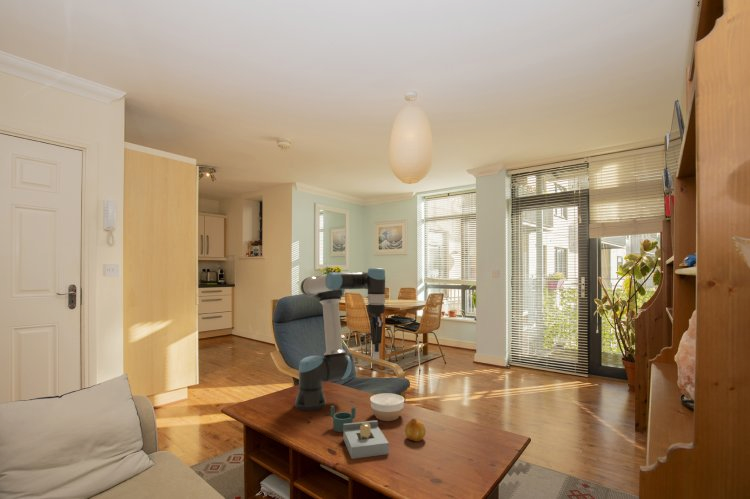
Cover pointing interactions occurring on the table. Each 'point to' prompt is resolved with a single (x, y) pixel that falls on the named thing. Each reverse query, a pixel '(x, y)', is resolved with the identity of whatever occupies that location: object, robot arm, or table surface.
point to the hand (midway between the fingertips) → (375, 358)
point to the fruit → (415, 430)
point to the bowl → (387, 406)
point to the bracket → (342, 418)
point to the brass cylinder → (365, 431)
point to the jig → (364, 440)
